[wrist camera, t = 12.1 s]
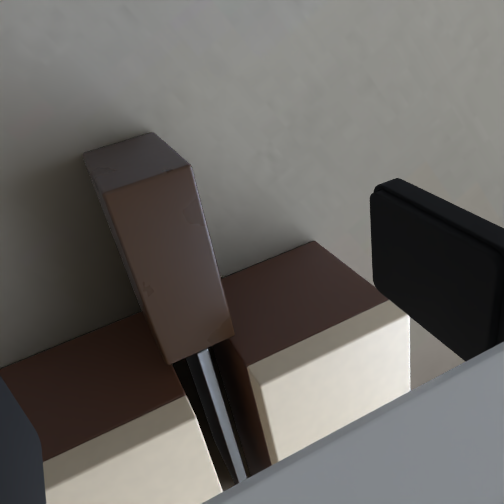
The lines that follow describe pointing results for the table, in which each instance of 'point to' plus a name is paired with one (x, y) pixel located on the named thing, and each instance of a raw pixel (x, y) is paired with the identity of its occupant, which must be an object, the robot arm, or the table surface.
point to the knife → (169, 264)
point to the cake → (234, 379)
